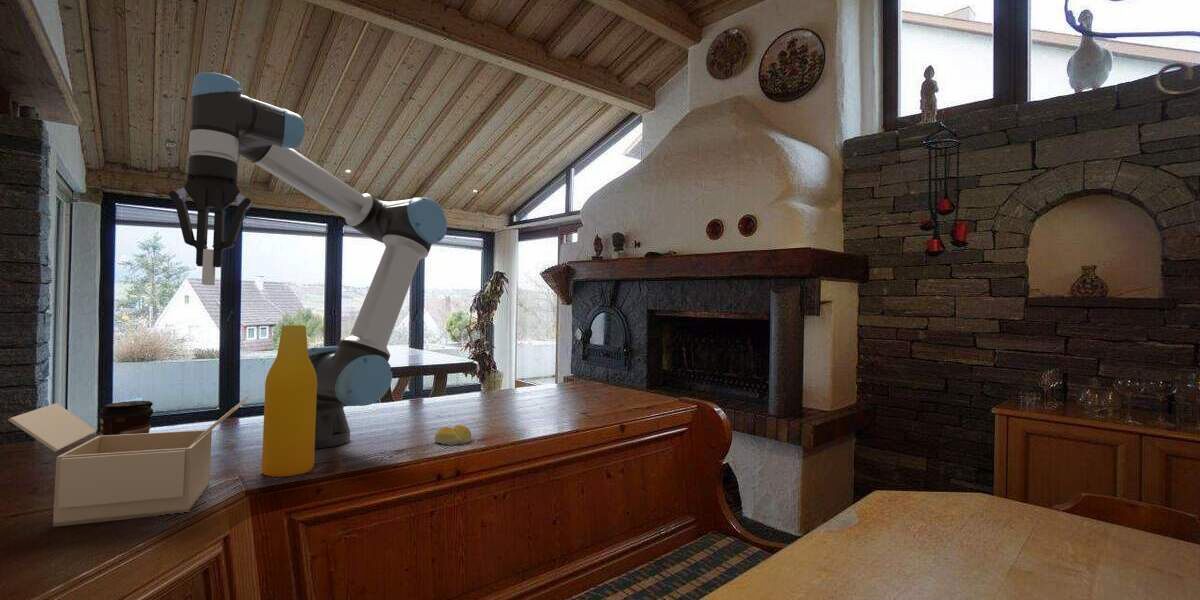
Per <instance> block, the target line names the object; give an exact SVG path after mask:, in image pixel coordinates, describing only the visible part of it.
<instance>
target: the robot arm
mask: <svg viewBox="0 0 1200 600" xmlns="http://www.w3.org/2000/svg"><path fill="white" fill-rule="evenodd" d="M191 85H192V87H191V95H190V99H191V100H190V101H191V103H190V132H189V144H188V145H189V146H188V152H189V154H191V156H189V157H188V165H187V166H188V168H187V170H188V171H187V178H186V179H187V180H186V182H184V184H183V187H182V188H179V189H178V190H170V191H168V196H169V198H170V199H171V200H172V202H173V203H174V205H175V210H176V214H177V217H178V222H179V225H180V230H181V233H182V237H183V242H184V243H185V244H186V245H188V246H191V247H193V248H195V252H196V253H195V254H196V255H195V264H196V266H197V267H202V271H201V272H202V273H201V285H203V286H215V284H216V282H215V281H216V280H215V279H216V268H222V267H223V253H224V251H225V250H229V249H232V248H234V247H235V246H236V242H237V240H238V238H239V234H240V231H241V228H242V225H243V222H244V220H245V216H246V214H247V212H248V210H249V209H250V208H251V207H252V206H253V200H251V199H250V198H249V197H246V196H245V195H242V194H241V191H240V188H239V186H238V168H239V167H238V166H239V165H238V163H237V161H238V160H239V155H240V157H243V158H245V159H246V160H248V161H249V162H251V163H253V164H255V165H256V166H258V167H260V168H261V169H263V170H264V171H266V172H268V173H270V174H272V175H273V176H274V177H276V178H278V179H279V180H281V181H283V182H284V183H285V184H288V185H289V186H291V187H292V188H294V189H296V190H297V191H299V192H301V193H302V194H304V195H305V196H307V197H308V198H309V197H310V198H311V199H312V200H314V201H316V202H317V203H319V204H320V205H322V206H324V207H326V208H327V209H329V210H331V211H332V212H334V213H335V214H337V215H338V216H341V217H342V218H344V220H345V223H346V224H347V225H348V226H349V227H351V228H352V229H354V230H356V231H357V232H359V233H362V234H363V235H365V236H367V237H369V238H370V239H372V240H374V241H377V242H379V243H381V244H383V245H384V246H385V248H384V251H383V253H382V256H381V258H380V261H379V264H378V266H377V268H376V271H375V272H374V273H375V274H374V275H373V278H372V280H371V283H370V285H369V288H368V290H367V293H366V295H365V297H364V300H363V303H362V305H361V308H360V310H359V312H358V315H357V318H356V319H355V322H354V324H353V327H352V329H351V331H350V334H349V336H346V337H344V338H341V339H340V340H339V343H338V345H334V346H333V345H331V346H330V345H329V346H317V347H315V346H314V347H308V355H309V358H310V361H311V363H312V365H313V367H314V369H315V372H316V376H317V400H316V426H315V449H324V448H325V449H326V448H330V447H337V446H340V445H341V446H342V445H344V444H346V443H348V442H350V441H351V429H350V426H349V423H348V419H347V417H346V412H345V408H344V406H345V405H347V406H350V407H358V406H359V407H363V406H364V407H366V406H370V405H372V404H374V403H376V402H378V401H379V400H381V399H382V398H383V397H384V396H385V394H387V392H388V391H389V390H390V387H391V384H392V381H393V371H391V369H392V367H391V365H390V363H389V361H390V358H391V353H390V351H389V349H388V344H389V342H390V339H391V337H392V334H393V331H394V328H395V326H396V323H397V321H398V318H399V315H400V313H401V311H402V307H403V305H404V302H405V300H406V296H407V294H408V291H409V288H410V287H411V284H412V282H413V281H412V280H413V279H414V275H415V273H416V270H417V267H418V265H419V263H420V260H422V259H425V258H427V257H428V256H429V253H430V251H431V248H432V246H433V244H437V243H439V242H441V241H442V240H443V239H444V238H445V236H446V234H447V231H448V229H447V228H448V220H447V217H446V215H445V212H444V210H443V208H442V207H441V205H439V203H438V202H437V201H435V200H433V199H431V198H429V197H418V196H417V197H412V198H409V199H400V200H393V201H392V200H391V201H386V200H385V201H384V200H380V199H378V198H375V197H374V196H372V195H370V193H363V194H362V193H361V192H359V191H358V190H357V189H355V188H353V186H350V185H349V184H347V183H346V182H344V181H343V180H341V179H339V178H338V177H336V176H335V175H333V174H332V173H330V172H329V171H328V170H326V169H325V168H322V167H321V165H318V164H317V163H316V162H314V161H312V160H310V159H309V158H307V157H306V156H304V155H303V154H301V153H300V152H299V151H297V150H295V149H297V148H298V147H299V146H300V145H301V144H302V142H303V140H304V138H305V134H306V133H305V132H306V125H305V121H304V119H303V117H302V116H301V115H300V114H298V113H295V112H293V111H290V110H288V109H286V108H284V107H279V106H275V105H273V104H270V103H267V102H263V101H260V100H257V99H254V98H252V97H249V96H247V95H243V90H242V86H241V83H240V82H239V81H238V80H237V79H234V78H233V77H231V76H229V75H227V74H223V73H219V72H213V71H212V72H211V71H201V72H200V73H197V74H195V76H194V77H193V79H192V84H191ZM188 196H189V197H190V198H191V199H192V201H193V202H194V204H195V205H197V206H196V210H197V217H196V218H197V219H196V238H195V234H194V231H193V227H192V223H191V219H190V213H189V209H188V207H187V204H186V203H185V202H187V201H188V198H187V197H188ZM235 200H236V203H235V204H236V206H237V207H236V209H235V212H234V215H233V217H232V220H231V223H230V227H229V230H228V233H227V235H226V239H225V218H226V217H225V216H226V211H227V210H226V209H227V208H228V207H230V205H231V204H232V203H234V202H235ZM210 209H213V212H214V215H213V216H214V218H213V238H212V239H213V242H212V248H213V249H212V248H211V249H210V248H208V230H209V229H208V228H209V214H210ZM224 240H225V241H224Z"/></svg>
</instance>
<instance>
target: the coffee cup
mask: <svg viewBox="0 0 1200 600" xmlns="http://www.w3.org/2000/svg"><path fill="white" fill-rule="evenodd" d="M153 405H154V403H153V402H152V401H150V400H129V401H118V402H112V403H108V404H105V405H104V408H103V410H101V411H100V412H99V413H98V414H97V417H98V418H99V424H100V436H105V435H123V434H142V433H150V429H151V427H152V426H151V423H150V422H151V416H152V415H153V414H154V409H153V408H152V406H153Z"/></svg>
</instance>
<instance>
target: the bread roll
mask: <svg viewBox="0 0 1200 600" xmlns="http://www.w3.org/2000/svg"><path fill="white" fill-rule="evenodd" d="M472 440H473V438H472V432H471V430H470V428H468V427H467V426H464V425H462V424H461V425H460V424H459V425H455V426H453V427H449V426H447V427H446V426H445V427H442V428H439V429H438V430H437V431H436V433H435V434H434V442H435V443H436V442H437V444H438V443H441V444H440V445H445V444H447V446H451V445H452V446H454V445H458V444H459V445H460V444H461V445H463V444H468V443H470V442H471V441H472Z"/></svg>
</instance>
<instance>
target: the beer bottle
mask: <svg viewBox="0 0 1200 600" xmlns="http://www.w3.org/2000/svg"><path fill="white" fill-rule="evenodd" d="M280 329H281V331H280V336H279V342H278V349H277V354H276V357H275V358H274V361H273V363H272V364H271V366H270V367H269V370H268V372H267V375H266V379H265V383H264V384H265V385H264V404H263V406H264V407H263V429H262V430H263V432H262V452H261V472H262V474H263V475H264V476H267V477H273V478H282V477H283V478H284V477H293V476H298V475H303V474H306V473H308V472H310V471H312V470H313V469H314V466H315V460H316V457H315V456H316V454H315V453H316V452H315V449H316V448H315V426H316V400H317V376H316V372H315V369H314V367H313V365H312V363H311V361H310V358H309V355H308V348H309V347H308V337H307V335H308V334H307V326H306V325H305V324H301V325H299V324H297V325H296V324H284V325H282V326H281V328H280Z"/></svg>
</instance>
